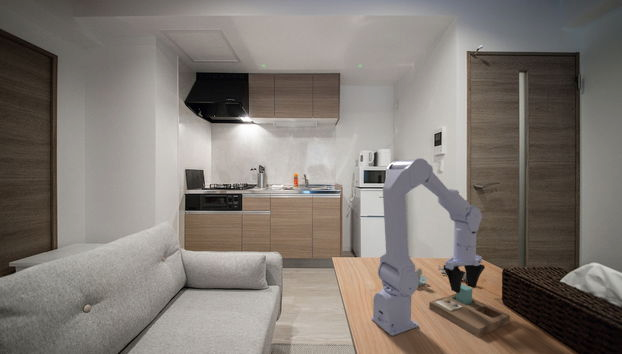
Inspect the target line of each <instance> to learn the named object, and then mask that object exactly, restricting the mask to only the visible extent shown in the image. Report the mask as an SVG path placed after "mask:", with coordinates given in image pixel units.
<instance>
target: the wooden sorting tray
mask: <svg viewBox="0 0 622 354" xmlns="http://www.w3.org/2000/svg"><path fill="white" fill-rule="evenodd" d="M428 305H429V310H431V311H433V312H434V313H436V314H438V315H440V316H441V317H443V318H444V319H446V320H447V321H450V322H452V323H454V324H456V326H458V327H460V328H462V329H463V330H465V331H467V332H469V333H470V334H472V335H474V336H476V337H477V338H480V337H482V336H485V335H486V334H488V333H491V332H492V331H495V330H497V329H499V328H502V327H504V326H507V325H509V324H510V323H511V315H510V314H508V313H505V312H503V311H501V310H498V309H497V308H494V307H493V306H490V305H488V304H485V303H484V302H481V301H479V300H478V299H477V300H476V299H475V298H473V297H472V304H469V305H464V304H462V303H460V302H458V301H456V293H454V294H451V295H450V294H449V295H448V296H447V295H446V296H444V297H441V298H438V299H435V300H431V301H429V303H428Z"/></svg>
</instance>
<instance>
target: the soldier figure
mask: <svg viewBox="0 0 622 354" xmlns="http://www.w3.org/2000/svg"><path fill="white" fill-rule="evenodd" d="M443 268H444V267H441V265H438V268H437V269H438V271H440V273H441V274H445V275H447V274H446V272H445V270H444V269H443ZM462 281H467V280H466V272H465V274H464V276H463V278H462Z"/></svg>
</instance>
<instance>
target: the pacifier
mask: <svg viewBox="0 0 622 354" xmlns="http://www.w3.org/2000/svg"><path fill="white" fill-rule="evenodd" d="M415 271H416V274H417V275H418V279H419V284H418V287H421V286H422V285H425V284H426V283H427V281H428V279H427V277H426V276H423V275H422V274H423V270H422V268H420V267H419V268H417V269H416V270H415Z"/></svg>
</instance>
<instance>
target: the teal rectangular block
mask: <svg viewBox="0 0 622 354" xmlns="http://www.w3.org/2000/svg"><path fill="white" fill-rule="evenodd" d="M455 294H456V301H458V302H460V303H462V304H464V305H469V304H472V298H473V288H472V287H470V286H467V285H465V284H463V283H461V289H460V292H459V293H456V292H455Z"/></svg>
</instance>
